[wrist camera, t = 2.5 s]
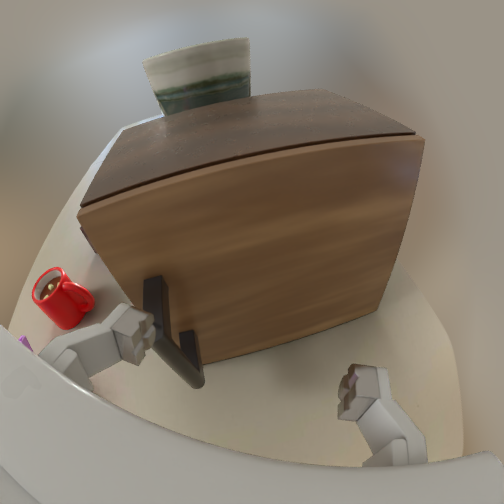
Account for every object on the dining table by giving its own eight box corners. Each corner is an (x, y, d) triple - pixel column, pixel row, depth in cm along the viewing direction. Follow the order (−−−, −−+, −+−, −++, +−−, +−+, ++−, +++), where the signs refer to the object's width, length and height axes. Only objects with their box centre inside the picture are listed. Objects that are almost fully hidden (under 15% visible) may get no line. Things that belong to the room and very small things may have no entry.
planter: (286, 176, 62) (271, 34, 38) (207, 218, 54) (163, 51, 30) (233, 153, 75) (213, 43, 52) (166, 185, 67) (130, 65, 44)
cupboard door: (396, 344, 30) (477, 174, 13) (192, 409, 27) (50, 282, 11) (373, 304, 34) (417, 134, 18) (185, 361, 32) (79, 208, 16)
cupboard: (372, 304, 35) (416, 131, 18) (185, 360, 33) (79, 204, 16) (321, 226, 48) (322, 88, 31) (176, 264, 45) (122, 130, 28)
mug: (99, 328, 37) (71, 299, 32) (51, 329, 38) (25, 304, 32) (109, 291, 43) (87, 260, 37) (63, 296, 43) (41, 269, 38)
